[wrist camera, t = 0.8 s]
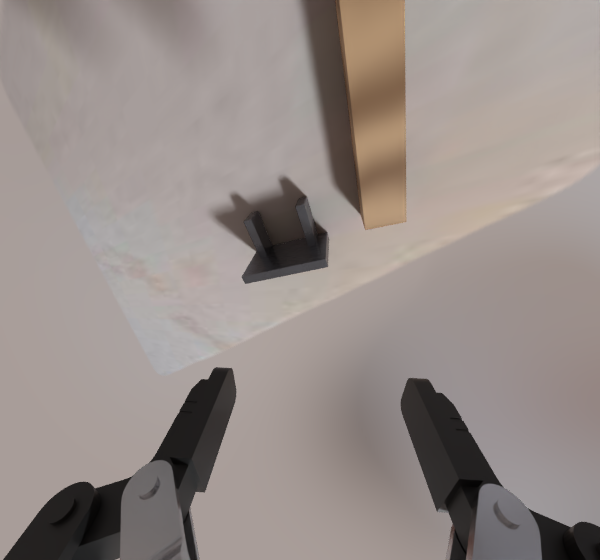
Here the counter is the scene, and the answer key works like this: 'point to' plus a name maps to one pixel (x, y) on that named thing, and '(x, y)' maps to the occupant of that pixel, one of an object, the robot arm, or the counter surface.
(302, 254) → the cup bracket
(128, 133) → the counter surface
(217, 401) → the robot arm
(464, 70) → the counter surface
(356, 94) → the rail
